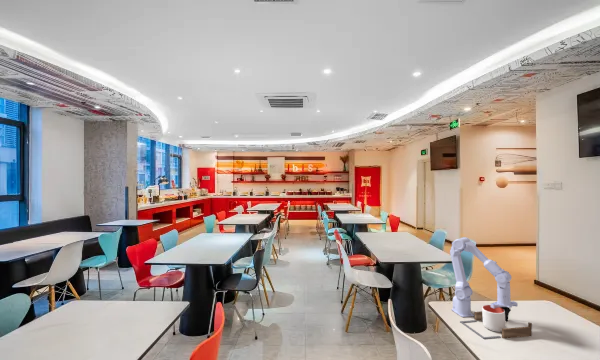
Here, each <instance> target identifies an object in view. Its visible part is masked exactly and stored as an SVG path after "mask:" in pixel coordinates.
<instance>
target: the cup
mask: <svg viewBox="0 0 600 360" xmlns="http://www.w3.org/2000/svg"><path fill="white" fill-rule="evenodd" d="M481 311H482V316H483V320H482V325H483V326H484V327H485V328H486V329H487V330H490V331H492V332H501V333H502V329H503V328H507V325H506V324H507V323H506V322H505V310H504V309H502V308H500V307H499V308H495V309H493V308H491V304H484V305H482V307H481Z"/></svg>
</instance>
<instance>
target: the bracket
mask: <svg viewBox="0 0 600 360" xmlns="http://www.w3.org/2000/svg"><path fill="white" fill-rule="evenodd" d="M475 322H476V323H477V322H478V321H476V320H475V319H472V320H459V323H461V324H462V325H463V326H465V327H466V328H468V329H469V330H470V331H471V332H473V333H474V334H476V335H477V336H479V337H481V338H482V339H483V340H488V339H489V340H491V339H492V340H493V339H500V338H502V336H500V335H493V336H483V335H482V334H480V333H479V331H478V332H477V331H476V330H475V329H474V328H472V327H470V326H469V325H467V324H466V323H475Z"/></svg>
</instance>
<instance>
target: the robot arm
mask: <svg viewBox="0 0 600 360" xmlns="http://www.w3.org/2000/svg"><path fill="white" fill-rule="evenodd" d="M463 252H467V253H470V254H472V255H474V256H475V257H476V258H477V259H478V260H479V261H480V262H482V263H483V267H484V268H485V269H486V270H487V271H488V272H489V273H490V274H491V275H492V276H493V277H494V280H495V282H496V287H497V288H496V295H497V297H496V298H497V301H495V302H493V303H490V305H491V308H493V309H495V308H499V307H500V308H502V309H504V310H505V323H506V322H508V321H509V316H510V315H509V314H510V312H511V311H512V310H511V308H513V307H515V308H516V307H518V302H517V301H514V300H513V301H511V299H512V298H511V281H512V275H511V273H509V271H507V270H505V269H504V268H502V267H501V266H500V265H499V264H497V263H498V262H497V261H496V260H495V261H494V260H492V259H489V258H488V257H487V256H486V255H485V254H484V253H483V252H482V251H481V250H480V249H479V248H478V247H477V246H476V245H475V243H474V242H473V241H472V240H470V239H469V237H465V236H464V237H460V238H457V239H454V240H453V241H452V242H451V247H450V250H449V254H450V255H449V256H450V259H451V264H452V267H453V272H454V277H455V281H456V282H455V285H454V288H455V289H454V296H453V298H452V308H451V311H453V312H454V313H455V314H457V315H458V316H460V317H461V318H470V317H475V314H473V313H472V311H471V310H472V309H471V307H472V306H471V305H472V302H471V300H472V299H471V296H473V289H472V287H471V286H470V283H469V281H467V277H466V272H465V268H464V263H463V259H462V253H463Z"/></svg>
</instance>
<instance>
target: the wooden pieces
mask: <svg viewBox="0 0 600 360" xmlns="http://www.w3.org/2000/svg"><path fill="white" fill-rule="evenodd" d="M474 320H476V321H477V322H478V321H483V316H482V310H481V311H474ZM532 327H533V323H532V322H528V323H527V326H517V327H506V328H503V329H502V331H501V338H502V339H503V340H505V339H517V338H525V337H526V338H528V337H532V336H533V333H532V331H533V328H532Z"/></svg>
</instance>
